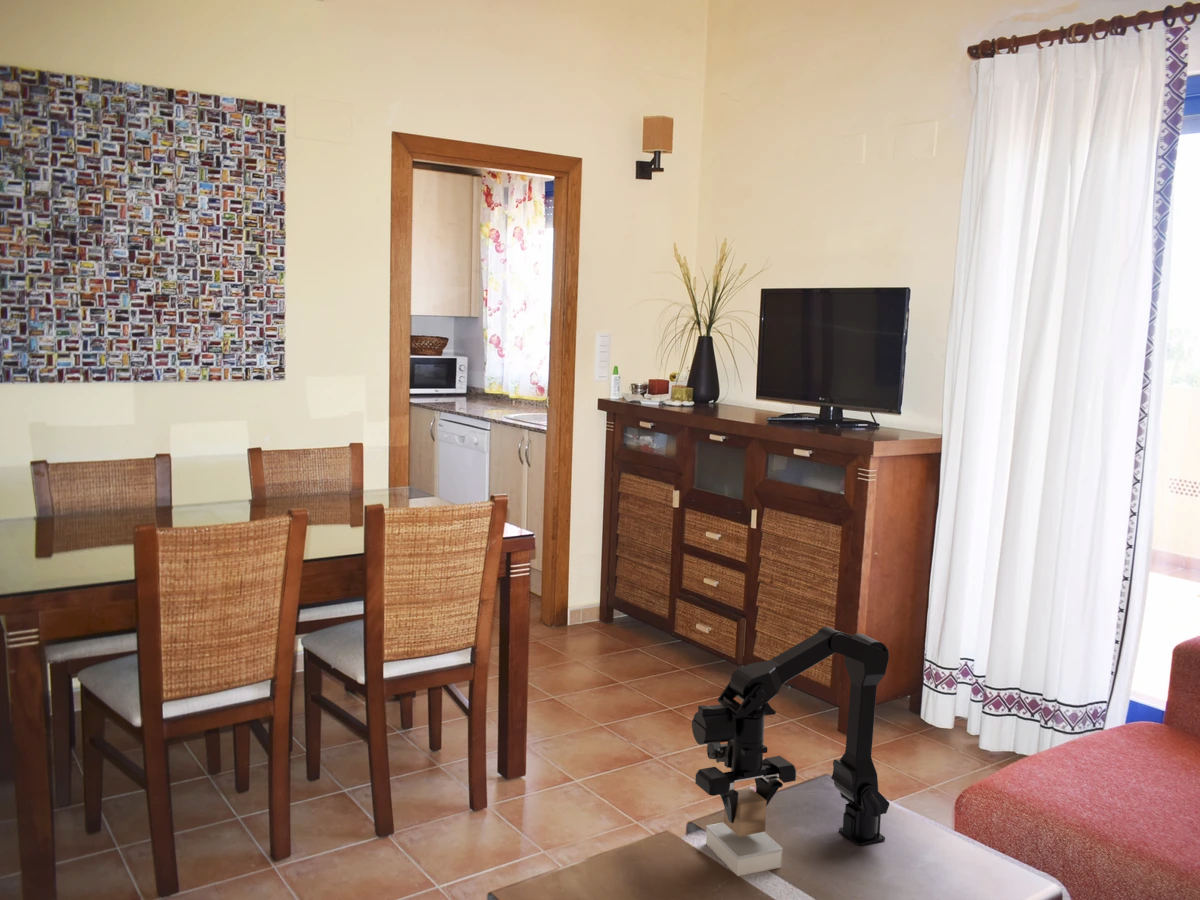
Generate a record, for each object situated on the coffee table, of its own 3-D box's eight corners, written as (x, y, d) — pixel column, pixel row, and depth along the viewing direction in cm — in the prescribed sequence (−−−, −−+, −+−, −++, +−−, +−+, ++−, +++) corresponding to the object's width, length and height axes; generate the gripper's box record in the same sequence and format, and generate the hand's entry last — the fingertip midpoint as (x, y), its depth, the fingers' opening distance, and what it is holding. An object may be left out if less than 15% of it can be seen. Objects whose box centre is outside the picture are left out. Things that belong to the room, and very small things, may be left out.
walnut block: (748, 818, 181) (750, 787, 181) (765, 831, 176) (766, 800, 176) (723, 823, 179) (725, 792, 179) (739, 836, 174) (740, 805, 174)
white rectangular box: (747, 837, 186) (748, 818, 185) (781, 869, 175) (782, 848, 174) (705, 845, 182) (706, 825, 182) (737, 878, 171) (738, 856, 171)
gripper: (766, 716, 187) (762, 793, 189) (682, 728, 180) (679, 808, 181) (799, 737, 177) (796, 818, 179) (712, 751, 170) (709, 835, 171)
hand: (744, 819), depth 178 cm, fingers closed on walnut block, 5 cm apart
